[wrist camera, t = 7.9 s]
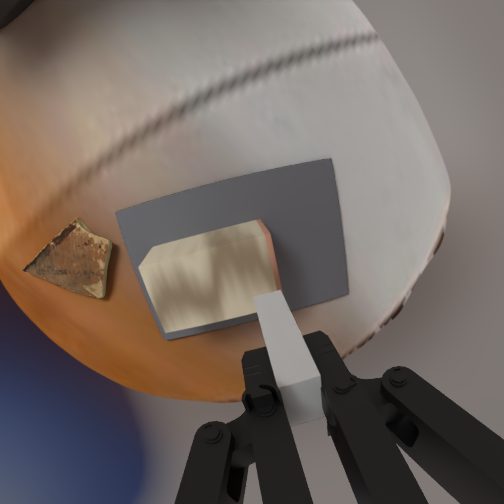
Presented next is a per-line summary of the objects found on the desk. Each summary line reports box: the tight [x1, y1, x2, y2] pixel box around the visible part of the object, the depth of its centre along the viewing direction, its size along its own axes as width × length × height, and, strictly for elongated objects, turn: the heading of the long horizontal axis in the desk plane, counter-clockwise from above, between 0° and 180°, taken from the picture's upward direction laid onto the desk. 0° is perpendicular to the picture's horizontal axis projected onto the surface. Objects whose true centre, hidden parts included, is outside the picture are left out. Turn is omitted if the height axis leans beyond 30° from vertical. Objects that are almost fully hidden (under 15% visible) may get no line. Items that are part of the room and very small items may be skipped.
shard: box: [23, 218, 112, 298], centre depth 23 cm, size 11×8×2 cm
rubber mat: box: [115, 158, 348, 340], centre depth 26 cm, size 14×20×1 cm
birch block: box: [138, 219, 283, 333], centre depth 23 cm, size 6×5×10 cm
